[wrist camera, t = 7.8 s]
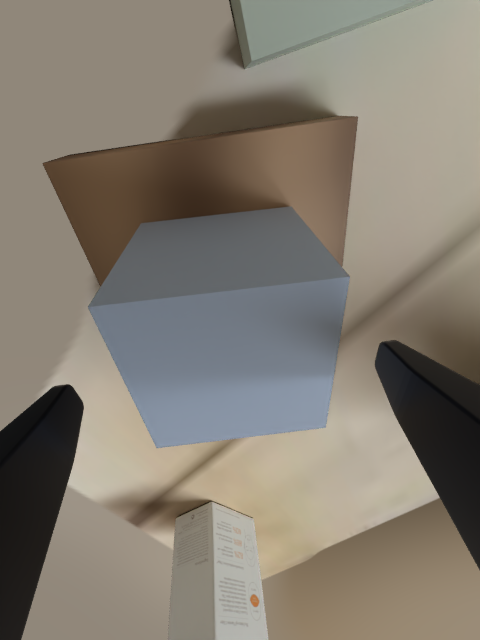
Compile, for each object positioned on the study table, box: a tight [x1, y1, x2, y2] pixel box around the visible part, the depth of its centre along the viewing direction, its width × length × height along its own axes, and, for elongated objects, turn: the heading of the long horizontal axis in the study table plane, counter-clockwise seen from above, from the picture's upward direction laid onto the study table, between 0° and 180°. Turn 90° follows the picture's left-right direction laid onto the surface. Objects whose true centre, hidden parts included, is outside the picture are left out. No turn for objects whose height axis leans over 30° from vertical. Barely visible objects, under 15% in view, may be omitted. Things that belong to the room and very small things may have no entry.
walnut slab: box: [43, 116, 358, 286], centre depth 14 cm, size 11×11×2 cm
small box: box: [168, 502, 268, 640], centre depth 29 cm, size 8×6×10 cm
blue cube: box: [88, 206, 350, 448], centre depth 11 cm, size 6×6×6 cm
